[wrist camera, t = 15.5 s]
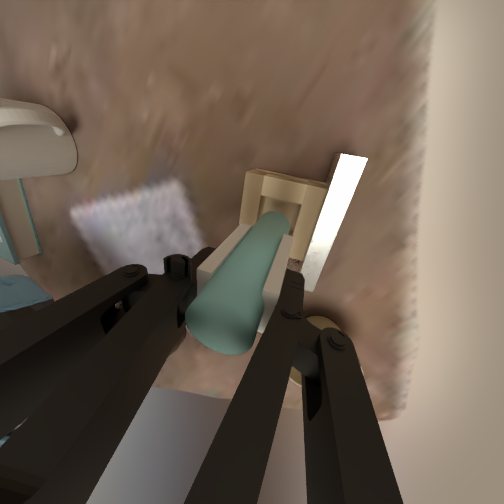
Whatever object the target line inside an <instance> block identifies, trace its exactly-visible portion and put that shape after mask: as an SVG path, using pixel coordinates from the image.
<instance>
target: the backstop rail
mask: <svg viewBox="0 0 504 504" xmlns="http://www.w3.org/2000/svg"><path fill="white" fill-rule="evenodd" d="M367 159H368V158H363V157H357V156H352V155H346V154H341V153H336V154H335V157H334V160H333V163H332V166H331V169H330V172H329V175H328V178H327V181H326V185H327V188H328V190H327V193H326V196H325V199H324V202H323V205H322V208H321V211H320V214H319V217H318V219H317V222H316V225H315V228H314V231H313V234H312V237H311V240H310V243H309V246H308V248H307V251H306V254H305V257H304V260H303V261H300V262H299V265H298V271H297V272H299V273H302V274H303V276H304V278H305V285H304V290H307V291H310V292H313V290H314V287H315V285H316V283H317V280H318V278H319V275H320V273H321V270H322V268H323V266H324V263H325V261H326V258H327V256H328V253H329V251H330V249H331V246H332V244H333V241H334V239H335V236H336V234H337V232H338V229H339V227H340V224H341V222H342V220H343V217H344V215H345V212H346V210H347V207H348V205H349V203H350V200H351V198H352V195H353V193H354V190H355V188H356V186H357V183H358V181H359V178H360V176H361V173H362V171H363V169H364V166H365V164H366V161H367Z"/></svg>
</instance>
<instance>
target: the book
mask: <svg viewBox="0 0 504 504" xmlns="http://www.w3.org/2000/svg"><path fill="white" fill-rule="evenodd" d="M36 254H40V255H42V251H41V247H40V244H39V240H38V237H37V233H36V230H35V226H34V223H33V219H32V216H31V212H30V209H29V205H28V202H27V199H26V195H25V192H24V188H23V185H22V181H21V178H20V179H10V180H0V257H1V258H3V259H5V260H7V261H9V262H11V263H13V264H15V265H16V264H19V263H20V262H19V261H20V260H23V259H26V258H28V257H31V256H34V255H36Z"/></svg>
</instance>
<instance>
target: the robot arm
mask: <svg viewBox="0 0 504 504" xmlns="http://www.w3.org/2000/svg"><path fill="white" fill-rule="evenodd" d="M250 230H251V225H248V224H244V223H241V224H240V225H239V226H238V227H237V228H236V229H235V230H234V231H233V232H232V233H231V234H230V235H229V236H228V237H227V238H226V239H225V241H224V242H223V243H222V244H221V245H220V246H219V247H218V248H217V249H215V248H211V247H207V248H204V249H202V250H200V251H199V252H198V253H197V254H196V255H195V256H194V257H193V258H191V259H190V258H189V257H188V256H186V255H181V254H174V255H170V256H167V257H165V258H164V271H165V273H164V274H163V275H157V274H148V272H147V268H146V267H145V266H143V265H139V264H132V265H126V266H124V267H121V268H119V269H117V270H115V271H113V272H112V273H110V274H108V275H106V276H104V277H102V278H100V279H98V280H96V281H94V282H92V283H90V284H88V285H86V286H84V287H82V288H81V289H79V290H77V291H75V292H73V293H71V294H69V295H67V296H65V297H63V298H61V299H59V300H57V301H54V300H53V299H52V298H53V297H52V295H48V294H47V293H46V292H45V291H44V290H43V289H42V288H41V287H40V286H39V285H38V284H37V283H36V282H35V281H34V280H32V279H31V278H29V277H27V276H23V275H8V276H4V277H0V504H86V502H87V501H88V499H89V497H90V495H91V493H92V492H93V490H94V488H95V486H96V484H97V483H98V481H99V479H100V477H101V475H102V474H103V472H104V470H105V468H106V467H107V464H108V463H109V461H110V459H111V458H112V456H113V454H114V452H115V450H116V448H117V447H118V445H119V443H120V442H121V440H122V438H123V436H124V434H125V433H126V431H127V429H128V427H129V425H130V423H131V422H132V420H133V418H134V416H135V415H136V413H137V411H138V409H139V408H140V406H141V404H142V402H143V400H144V399H145V397H146V395H147V393H148V391H149V390H150V388H151V386H152V384H153V382H154V381H155V379H156V377H157V375H158V374H159V372H160V370H161V368H162V366H163V365H164V363H165V361H166V359H167V357H168V356H170V355H171V354H172V353H173V352H174V351H176V350H177V349H178V347H179V346H180V344H181V343H182V342H183V340H184V338H185V334H186V332H185V325H186V321H185V313H186V310H187V308H188V307H189V305H190V304H191V303H192V302H193V300H194V299H195V298H196V297H197V295H198V294H199V293H200V292H201V290H202V289H203V288H204V287H205V285H206V284H207V283H208V282H209V281H210V280H211V279H212V277H213V276H214V275H215V274H216V272H217V271H218V270H219V269H220V267H221V266H222V265H223V264H224V262H225V261H226V260H227V259H228V257H229V256H230V255H231V254H232V252H233V251H234V250H235V249H236V247H237V246H238V245H239V244H240V242H241V241H242V240H243V239H244V237H245V236H246V235H247V234H248V232H249V231H250ZM293 239H294V237H293V236H290V235H286V234H284V235H283V237H282V240H281V243H280V245H279V248H278V251H277V253H276V256H275V259H274V261H273V264H272V266H271V269H270V272H269V274H268V277H267V280H266V282H265V285H264V288H263V291H262V297H263V300H264V312H263V315H262V318H261V321H260V324H259V327H258V332H260V333H263V334H262V336H261V338H260V341H259V343H258V345H257V347H256V349H255V351H254V354H253V356H252V358H251V360H250V362H249V364H248V366H247V369H246V371H245V373H244V375H243V377H242V379H241V382H240V384H239V386H238V388H237V390H236V392H235V394H234V397H233V399H232V401H231V403H230V405H229V407H228V409H227V412H226V414H225V416H224V418H223V420H222V422H221V425H220V427H219V429H218V431H217V433H216V435H215V437H214V440H213V442H212V444H211V446H210V448H209V450H208V453H207V455H206V457H205V459H204V461H203V463H202V465H201V468H200V470H199V472H198V474H197V476H196V478H195V480H194V483H193V485H192V487H191V489H190V491H189V493H188V496H187V498H186V500H185V502H184V504H257V501H258V497H259V493H260V489H261V485H262V481H263V477H264V474H265V470H266V466H267V462H268V458H269V454H270V450H271V446H272V442H273V438H274V434H275V430H276V427H277V422H278V419H279V414H280V411H281V407H282V403H283V399H284V396H285V392H286V388H287V384H288V380H289V376H290V372H291V368H292V366H293V367H294V368H295V369H296V370H298V371H299V372H300V373H301V380H302V401H303V422H304V444H305V465H306V486H307V504H403V501H402V498H401V495H400V491H399V488H398V485H397V482H396V479H395V475H394V472H393V469H392V466H391V462H390V459H389V456H388V453H387V450H386V447H385V443H384V440H383V437H382V434H381V431H380V427H379V424H378V421H377V418H376V415H375V411H374V408H373V405H372V402H371V399H370V395H369V392H368V389H367V386H366V383H365V379H364V376H363V373H362V370H361V367H360V364H359V360H358V357H357V354H356V351H355V348H354V345H353V343H352V341H351V339H350V338H349V337H348V336H347V335H346V334H345V333H343V332H342V331H341V330H338V329H336V328H332V327H327V328H324V329H323V330H321V329H319V328H317V327H316V326H314V325H313V324H311V323H310V322H309V321H308V320H307V319H306V318H305V316H304V313H303V297H304V285H305V278H304V276H303V274H302V273H299V272H295V271H292V270H289V269H286V267H287V263H288V259H289V255H290V251H291V247H292V243H293ZM119 301H121V302H120V303H119V304H118V305H117V306H116V307H115V304H116V303H118V302H119Z"/></svg>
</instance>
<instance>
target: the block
mask: <svg viewBox="0 0 504 504" xmlns="http://www.w3.org/2000/svg"><path fill="white" fill-rule="evenodd" d="M327 190H328V188H327V185H326V183H324V182H319V181H315V180H310V179H305V178H300V177H296V176H291V175H286V174H281V173H277V172H272V171H267V170H262V169H258V168H255V169H252V170H249V171H246V175H245V182H244V190H243V197H242V205H241V212H240V220H239V225H240V224H241V223H244V224H248V225H251V228H252V227H253V226H254V224H255V223H256V222H257V221H258V219H259V218H260V217H261V216H262V215H263V214H264V213H266V212H268V211H278V212H281V213H282V214H284V215H285V216H286V217H287V219H288V220H289V223H290V231H289V234H288V235H290V236H293V237H294V239H293V243H292V247H291V251H290V255H289V257H290V258H293V259H297V260H300V261H303V260H304V257H305V254H306V251H307V248H308V246H309V243H310V240H311V237H312V234H313V231H314V228H315V225H316V222H317V219H318V217H319V214H320V211H321V208H322V205H323V202H324V199H325V196H326V193H327Z"/></svg>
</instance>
